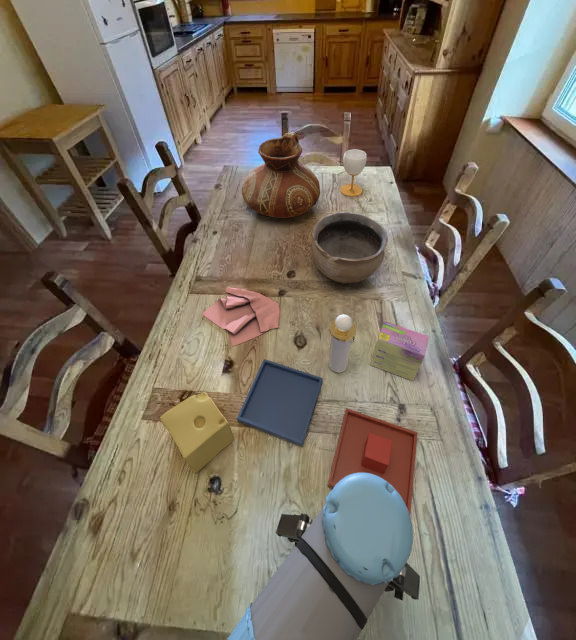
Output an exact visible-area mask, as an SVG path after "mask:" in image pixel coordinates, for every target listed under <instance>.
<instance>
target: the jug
mask: <svg viewBox="0 0 576 640" xmlns="http://www.w3.org/2000/svg"><path fill="white" fill-rule="evenodd" d="M257 152H258V154H259V157H260V158H261V159H262V161H263V163H262V164H260V165H258V166H256V167H255V168H254V169H253V170H252V171H250V172H249V173H248V175H247V176H246V177H245V178H244V181H243V184H242V186H241V187H242V188H241V195H242V199H243V202H244V204H246V205H247V207H249V208H250V209H251V210H252V211H254V212H256V213H258V214H261V215H262V216H265V217H271V218H279V219H287V218H288V219H289V218H294V217H295V218H296V217H299V216H301V215H303V214H305V213H307V212H309V211H311V209H312V208H313V207H315V206H316V205H317V203H318V201H319V198H320V196H321V187H320V181H319V179H318V177H317V176H316V175H315V173H314V172H313V171H312V169H311V168H309V167H308V166H307V165H305V164H304V163H302V162H301V161H299V160H300V159H299V158H300V157H301V156H302V153H303V147H302V146H301V144H300V142H299V137H298V135H297V134H296V133H293V132H285V133H284V135H282V136H281V137H276V138H270V139H267V140H264V142H262V143H261V144H260V145H259V147H258V151H257Z"/></svg>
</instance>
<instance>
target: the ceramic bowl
mask: <svg viewBox="0 0 576 640" xmlns="http://www.w3.org/2000/svg"><path fill="white" fill-rule="evenodd" d="M311 237H312V240H311V244H310V254H311V259H312V261H313V263H314V265H315V266H316V268H317V270H318V271H320V272H321V274H323V276H325V277H326V278H328V279H330V280H332V281H334V282H336V283H340V284H353V283H354V284H355V283H358V282H359V283H360V282H362V281H364V280H366V279H367V278H370V277H371V276H372V275H373V274H374V273H376V272H377V271H378V269H379V268H380V267H381V265H382V263H383V261H384V257H385V249H386V248H387V246H388V242H389V236H388V232H387V231H386V229H385V228H384V227H383V225H381V224H380V223H379V222H378V221H376V220H374V219H372V218H370V217H368V216H366V215H364V214H361V213H356V212H350V211H344V212H340V211H339V212H334V213H331V214H328V215H327V214H326V215H324V216H322V217H321V218H319V219H318V220H317V222H316V223H315V224H314V226H313V228H312V231H311Z"/></svg>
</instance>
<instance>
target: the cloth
mask: <svg viewBox="0 0 576 640" xmlns="http://www.w3.org/2000/svg"><path fill="white" fill-rule="evenodd" d="M225 293H227V296H226V298H227V299H225V298H218V299H217V301H215V302H214V303H213V304H212V305H211V306H210V307H208V308H207V309H206V310H205V311H204V312H202V313H201V315H202V316H203V317H205V318H207V320H209V321H211V322H212V323H213V324H215V325H216V326H217V327H219V328H221V329H222V330H227V334H228V338H229V340H230V343H231V346H232V347H235V346H238V345H241V344H243V343H246V342H247V341H251V340H252V339H255V338H257V337H260V336H262V335H264V334H266V333H267V332H268V331H269V330H274V329H279V326H280V317H281V307H280V303H279V302H278V301H277V300H272V299H271V298H269V297H267V296H265V295H263V294H261V293H260V292H256V291H254V290H248V289H245V288H239V287H226V288H225Z"/></svg>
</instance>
